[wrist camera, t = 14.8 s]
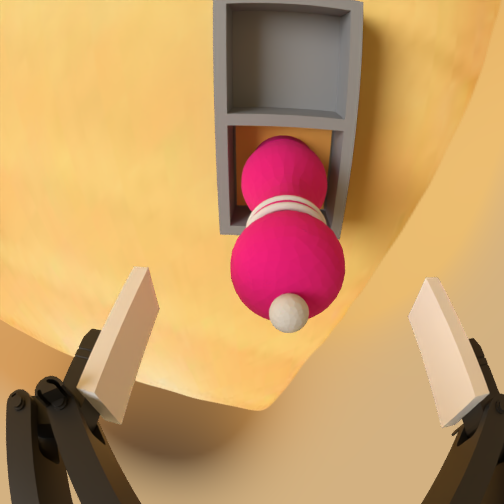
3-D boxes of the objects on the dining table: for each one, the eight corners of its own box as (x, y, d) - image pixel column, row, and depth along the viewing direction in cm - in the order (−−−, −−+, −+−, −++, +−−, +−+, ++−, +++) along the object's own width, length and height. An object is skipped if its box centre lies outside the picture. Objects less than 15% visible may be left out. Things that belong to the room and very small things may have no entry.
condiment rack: (227, 213, 34) (220, 237, 30) (223, 4, 21) (213, -7, 17) (331, 217, 33) (338, 242, 29) (348, 10, 20) (363, 2, 16)
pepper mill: (230, 159, 29) (170, 313, 13) (289, 115, 26) (315, 222, 10) (276, 211, 32) (272, 386, 16) (334, 172, 29) (396, 334, 13)
